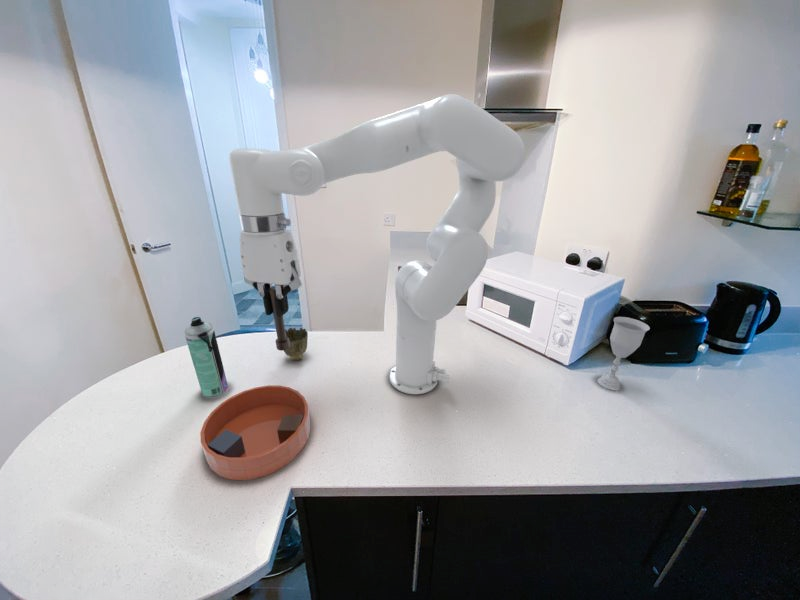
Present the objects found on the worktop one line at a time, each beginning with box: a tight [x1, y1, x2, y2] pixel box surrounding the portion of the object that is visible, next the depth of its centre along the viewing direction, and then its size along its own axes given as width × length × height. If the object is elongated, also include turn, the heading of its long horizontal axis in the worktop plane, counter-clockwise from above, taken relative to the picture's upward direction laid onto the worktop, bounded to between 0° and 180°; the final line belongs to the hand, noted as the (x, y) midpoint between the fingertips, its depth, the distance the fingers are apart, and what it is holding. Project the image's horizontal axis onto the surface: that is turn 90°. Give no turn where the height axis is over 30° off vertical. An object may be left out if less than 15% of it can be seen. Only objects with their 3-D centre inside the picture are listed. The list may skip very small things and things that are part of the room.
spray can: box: [183, 316, 229, 399], centre depth 72 cm, size 6×6×20 cm
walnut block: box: [277, 415, 304, 444], centre depth 63 cm, size 4×4×4 cm
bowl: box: [200, 384, 311, 481], centre depth 63 cm, size 19×19×6 cm
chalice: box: [597, 316, 651, 391], centre depth 79 cm, size 7×7×18 cm
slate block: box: [207, 430, 245, 458], centre depth 58 cm, size 4×4×4 cm
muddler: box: [269, 286, 290, 351], centre depth 66 cm, size 3×3×14 cm
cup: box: [283, 327, 308, 362], centre depth 88 cm, size 8×7×8 cm
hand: (277, 312), depth 65 cm, fingers closed on muddler
